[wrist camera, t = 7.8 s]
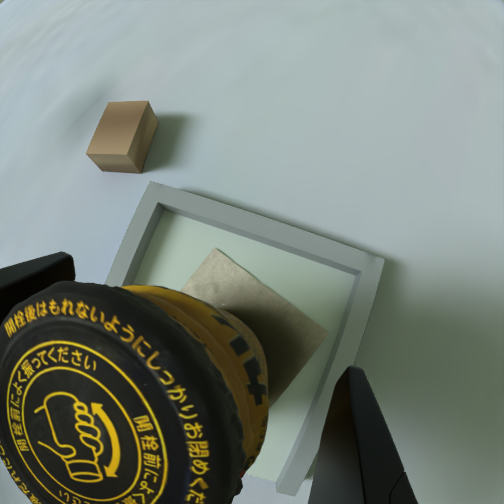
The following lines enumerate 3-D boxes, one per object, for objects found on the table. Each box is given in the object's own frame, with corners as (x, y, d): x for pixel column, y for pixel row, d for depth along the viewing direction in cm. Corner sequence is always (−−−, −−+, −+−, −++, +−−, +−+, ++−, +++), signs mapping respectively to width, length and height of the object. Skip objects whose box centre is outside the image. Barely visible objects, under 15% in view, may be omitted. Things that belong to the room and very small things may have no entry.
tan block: (140, 173, 19) (126, 154, 16) (102, 171, 19) (85, 153, 17) (158, 122, 20) (148, 100, 17) (121, 122, 20) (108, 102, 17)
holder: (292, 481, 14) (294, 496, 12) (84, 394, 15) (68, 398, 14) (373, 266, 17) (384, 259, 15) (159, 194, 18) (150, 180, 16)
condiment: (120, 370, 15) (-67, 400, 4) (214, 248, 17) (124, 89, 5) (227, 456, 14) (167, 625, 2) (328, 332, 15) (476, 330, 4)
